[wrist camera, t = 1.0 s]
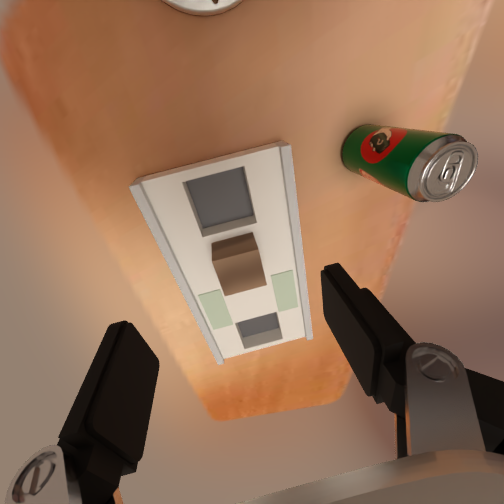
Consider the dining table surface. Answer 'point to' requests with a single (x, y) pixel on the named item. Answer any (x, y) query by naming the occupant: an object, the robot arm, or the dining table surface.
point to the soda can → (411, 160)
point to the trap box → (227, 226)
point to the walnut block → (238, 264)
